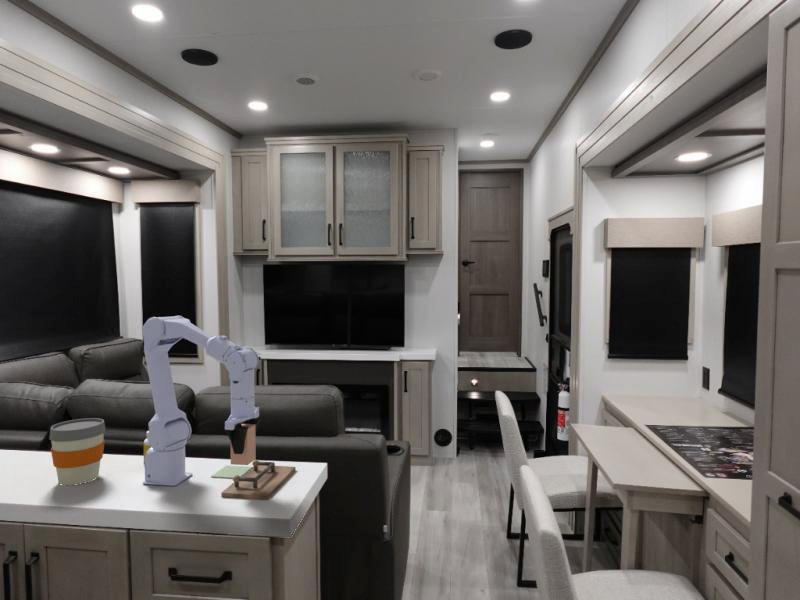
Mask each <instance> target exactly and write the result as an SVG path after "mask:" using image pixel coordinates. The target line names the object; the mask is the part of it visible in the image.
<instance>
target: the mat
mask: <svg viewBox="0 0 800 600" xmlns="http://www.w3.org/2000/svg"><path fill="white" fill-rule="evenodd" d="M252 467H253V466H245V465H225V466H223V467H222V468H221V469H219V470H218V471H217V472H215V473H214V474H212V475H211V476H210V477H211V478H214V479H215V478H216V479H217V478H218V479H231V480H233V477H234V476H235V475H239V476H240V477H241V476H242V475H244V474H245V473H246V472H247V471H248V470H250V469H251V468H252Z"/></svg>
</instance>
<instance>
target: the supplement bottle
mask: <svg viewBox="0 0 800 600" xmlns="http://www.w3.org/2000/svg"><path fill="white" fill-rule="evenodd" d="M148 433H149V430H147V431H146V438H145V439H144V441H143V467H145V456H146V453H147V451H148V450H149V449H150V448H151V446H150V444H149V441H148Z"/></svg>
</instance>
